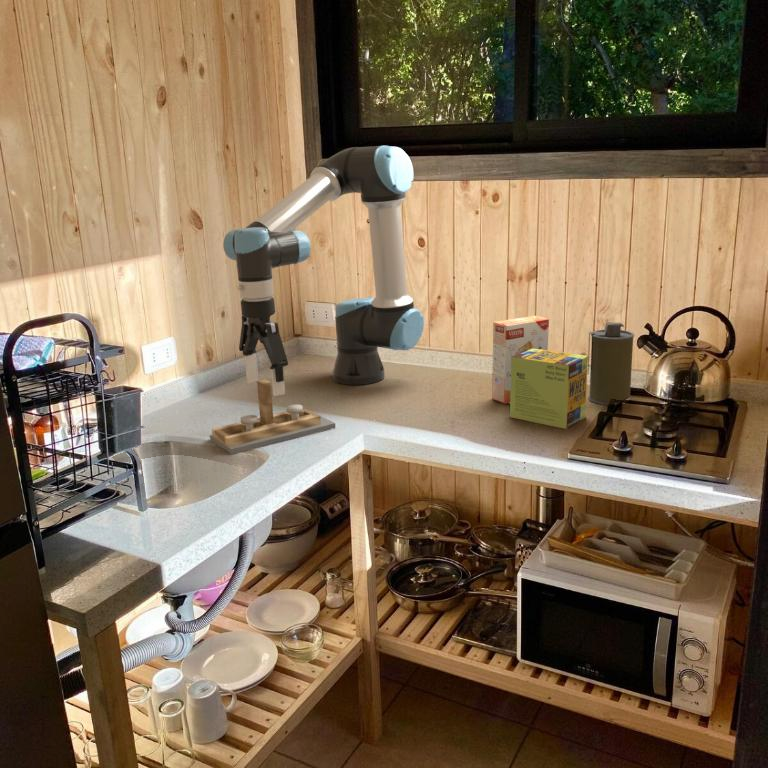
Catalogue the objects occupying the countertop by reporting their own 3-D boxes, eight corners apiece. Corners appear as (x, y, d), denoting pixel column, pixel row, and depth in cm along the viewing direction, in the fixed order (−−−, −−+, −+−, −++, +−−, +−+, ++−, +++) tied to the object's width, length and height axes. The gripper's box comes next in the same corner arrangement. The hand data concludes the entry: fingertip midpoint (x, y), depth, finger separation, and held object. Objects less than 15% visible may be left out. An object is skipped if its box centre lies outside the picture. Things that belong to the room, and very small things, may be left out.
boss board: (310, 415, 201) (309, 395, 200) (335, 427, 192) (334, 406, 190) (210, 439, 187) (208, 417, 185) (231, 454, 177) (229, 431, 176)
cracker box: (505, 405, 204) (506, 325, 198) (491, 399, 209) (491, 321, 203) (547, 395, 211) (549, 318, 205) (533, 390, 216) (534, 314, 210)
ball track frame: (303, 415, 198) (300, 368, 195) (320, 424, 191) (317, 375, 188) (212, 436, 185) (207, 387, 182) (228, 447, 178) (223, 395, 175)
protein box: (567, 429, 185) (569, 365, 181) (509, 417, 195) (509, 356, 190) (586, 417, 193) (589, 355, 189) (530, 406, 203) (531, 347, 198)
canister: (627, 393, 210) (631, 319, 204) (633, 405, 200) (637, 328, 194) (584, 393, 212) (587, 319, 206) (589, 405, 202) (592, 328, 196)
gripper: (219, 293, 187) (228, 379, 194) (267, 308, 167) (275, 404, 174) (248, 288, 191) (256, 373, 198) (298, 303, 171) (306, 396, 178)
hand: (265, 388), depth 186 cm, fingers open, 13 cm apart
